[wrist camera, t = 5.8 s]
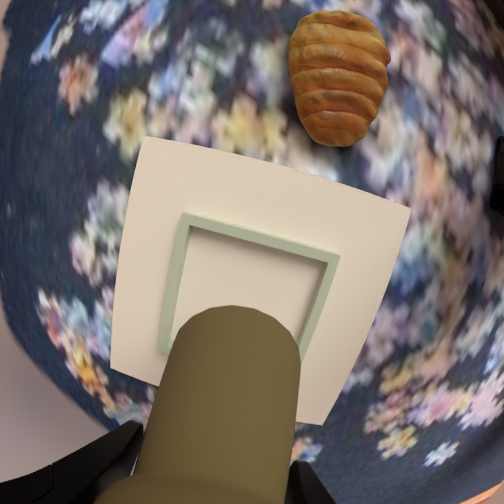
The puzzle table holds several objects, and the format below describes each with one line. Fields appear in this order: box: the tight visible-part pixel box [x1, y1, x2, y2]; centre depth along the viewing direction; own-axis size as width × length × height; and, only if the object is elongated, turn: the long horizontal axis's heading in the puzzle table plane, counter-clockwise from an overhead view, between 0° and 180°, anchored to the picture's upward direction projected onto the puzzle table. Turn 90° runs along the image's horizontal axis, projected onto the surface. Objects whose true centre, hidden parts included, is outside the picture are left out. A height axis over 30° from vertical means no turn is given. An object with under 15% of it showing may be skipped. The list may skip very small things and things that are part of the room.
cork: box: [93, 305, 301, 504], centre depth 7 cm, size 6×6×11 cm
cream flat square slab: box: [110, 136, 411, 425], centre depth 19 cm, size 18×18×2 cm
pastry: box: [288, 10, 391, 147], centre depth 15 cm, size 9×7×4 cm
